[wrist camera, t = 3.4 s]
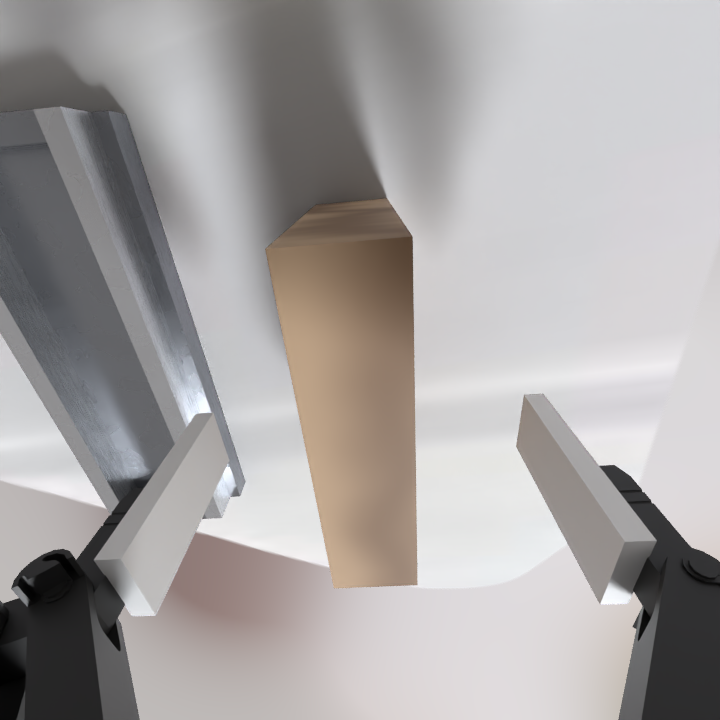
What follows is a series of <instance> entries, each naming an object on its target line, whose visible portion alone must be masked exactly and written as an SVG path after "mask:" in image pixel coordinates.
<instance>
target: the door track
mask: <svg viewBox="0 0 720 720" xmlns="http://www.w3.org/2000/svg"><path fill="white" fill-rule="evenodd" d="M0 333H1V335H2V336H3V338H4V340H5V341H6V343H7V345H8V346H9V348H10V350H11V351H12V353H13V355H14V356H15V358H16V359H17V361H18V363H19V364H20V366H21V368H22V369H23V371H24V373H25V374H26V376H27V378H28V379H29V381H30V383H31V384H32V386H33V388H34V389H35V391H36V392H37V394H38V396H39V397H40V399H41V401H42V402H43V404H44V406H45V407H46V409H47V411H48V412H49V414H50V416H51V417H52V419H53V420H54V422H55V424H56V425H57V427H58V429H59V430H60V432H61V434H62V435H63V437H64V439H65V440H66V442H67V444H68V445H69V447H70V449H71V450H72V452H73V453H74V455H75V457H76V458H77V460H78V462H79V463H80V465H81V467H82V468H83V470H84V472H85V473H86V475H87V477H88V478H89V480H90V481H91V483H92V485H93V486H94V488H95V490H96V491H97V493H98V495H99V496H100V498H101V500H102V501H103V503H104V505H105V506H106V508H107V510H108V511H109V513H110V514H112V511H113V510H114V509H115V507H116V506H117V505H118V503H119V502H120V501H121V499H123V498H124V497H125V496H126V495H127V494H129V493H130V492H131V491H132V490H133V489H135V488H144V487H145V486H146V485H147V483H148V482H149V480H150V479H151V477H152V476H153V475H154V473H155V472H156V470H157V469H158V467H159V466H160V465H161V463H162V462H163V460H164V459H165V457H166V456H167V455H168V453H169V452H170V450H171V449H172V447H173V446H174V445H175V443H176V442H177V440H178V439H179V437H180V436H181V435H182V433H183V432H184V430H185V429H186V427H187V426H188V425H189V423H190V422H191V420H192V419H193V417H194V416H195V415H196V414H198V413H214V416H215V419H216V422H217V425H218V428H219V431H220V434H221V437H222V440H223V443H224V446H225V449H226V452H227V455H228V458H229V462H228V465H227V467H226V469H225V471H224V473H223V475H222V477H221V479H220V481H219V484H218V486H217V488H216V490H215V492H214V494H213V496H212V498H211V500H210V503H209V505H208V507H207V509H206V511H205V513H204V515H203V517H202V519H209V518H222V516H223V514H224V511H225V509H226V506H227V504H228V501H229V499H230V497H234V496H240V495H241V492H242V489H243V487H244V484H245V479H244V476H243V473H242V470H241V467H240V464H239V461H238V458H237V455H236V452H235V449H234V446H233V442H232V439H231V436H230V433H229V430H228V427H227V424H226V421H225V418H224V415H223V412H222V409H221V406H220V402H219V399H218V396H217V393H216V390H215V387H214V384H213V381H212V378H211V375H210V372H209V369H208V366H207V362H206V359H205V356H204V353H203V350H202V347H201V344H200V341H199V338H198V335H197V332H196V329H195V326H194V322H193V319H192V316H191V313H190V310H189V307H188V304H187V301H186V298H185V295H184V292H183V289H182V286H181V282H180V279H179V276H178V273H177V270H176V267H175V264H174V261H173V258H172V255H171V252H170V249H169V246H168V242H167V239H166V236H165V233H164V230H163V227H162V224H161V221H160V218H159V215H158V212H157V209H156V206H155V202H154V199H153V196H152V193H151V190H150V187H149V184H148V181H147V178H146V175H145V172H144V169H143V166H142V162H141V159H140V156H139V153H138V150H137V147H136V144H135V141H134V138H133V135H132V132H131V129H130V126H129V122H128V119H127V116H126V114H122V113H118V112H113V111H108V110H107V111H97V112H88V111H82V110H77V109H71V108H66V107H61V106H59V107H49V108H40V109H30V110H21V111H12V112H2V113H0Z"/></svg>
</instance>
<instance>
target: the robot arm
mask: <svg viewBox="0 0 720 720" xmlns="http://www.w3.org/2000/svg"><path fill="white" fill-rule="evenodd" d="M516 447H517V449H518V451H519V453H520V454H521V456H522V458H523V460H524V462H525V464H526V466H527V468H528V470H529V471H530V473H531V475H532V477H533V479H534V481H535V483H536V485H537V486H538V488H539V490H540V492H541V494H542V496H543V498H544V500H545V502H546V503H547V505H548V507H549V509H550V511H551V513H552V515H553V517H554V519H555V520H556V522H557V524H558V526H559V528H560V530H561V532H562V534H563V536H564V537H565V539H566V541H567V543H568V545H569V547H570V549H571V550H572V552H573V554H574V556H575V558H576V560H577V562H578V564H579V566H580V568H581V569H582V571H583V573H584V575H585V577H586V579H587V581H588V583H589V585H590V586H591V588H592V590H593V592H594V594H595V596H596V598H597V600H598V601H599V603H600V604H628V603H629V601H630V598H631V596H632V593H633V592H635V594H636V595H637V597H638V599H639V600H640V602H641V603H642V605H643V607H642V609H641V611H640V613H639V615H638V617H637V619H636V621H635V623H634V625H633V627H634V628H636V635H635V639H634V644H633V649H632V654H631V660H630V664H629V669H628V674H627V679H626V684H625V689H624V694H623V700H622V705H621V709H620V715H619V720H720V562H719V561H718V560H717V559H715V558H713V557H712V556H710V555H708V554H706V553H705V552H703V551H700V550H696V549H693V548H691V547H690V546H689V545H688V543H687V542H686V541H685V540H684V539H683V538H682V537H681V535H680V534H679V533H678V532H677V531H676V530H675V528H674V527H673V526H672V525H671V523H670V522H669V521H668V520H667V519H666V518H665V516H664V515H663V514H662V513H661V512H660V510H659V509H658V508H657V507H656V506H655V505H654V504H652V503H651V500H650V499H649V498H648V496H647V495H646V494H645V493H643V492H642V489H641V488H640V487H639V486H638V485H637V483H636V482H635V481H634V480H633V479H632V478H631V476H629V475H628V474H626V473H625V472H624V471H622V470H621V469H619V468H618V467H616V466H615V465H607V466H599V465H598V464H597V463H596V461H595V460H594V459H593V457H592V456H591V455H590V454H589V452H588V451H587V450H586V448H585V447H584V446H583V445H582V443H581V442H580V441H579V439H578V438H577V437H576V435H575V434H574V433H573V432H572V430H571V429H570V428H569V426H568V425H567V424H566V423H565V421H564V420H563V419H562V417H561V416H560V415H559V413H558V412H557V411H556V410H555V408H554V407H553V406H552V404H551V403H550V402H549V401H548V399H547V398H546V397H545V395H544V394H530V395H524V399H523V406H522V412H521V419H520V425H519V432H518V439H517V445H516ZM228 462H229V458H228V455H227V452H226V449H225V446H224V443H223V440H222V437H221V434H220V431H219V428H218V425H217V422H216V419H215V416H214V413H198V414H196V415H195V416H194V417H193V419H192V420H191V422H190V423H189V425H188V426H187V427H186V429H185V430H184V432H183V433H182V435H181V436H180V437H179V439H178V440H177V442H176V443H175V445H174V446H173V447H172V449H171V450H170V452H169V453H168V455H167V456H166V457H165V459H164V460H163V462H162V463H161V465H160V466H159V467H158V469H157V470H156V472H155V473H154V475H153V476H152V477H151V479H150V480H149V482H148V483H147V485H146V486H145V487H144V488H135V489H133V490H132V491H131V492H130V493H129V494H127V495H126V496H125V497H124V498H123V499H121V501H120V502H119V503H118V505H117V506H116V507H115V509H114V510H113V511H112V514H111V515H110V516H109V517H108V518H107V519H106V521H105V522H104V525H103V526H101V528H100V529H99V530H98V532H97V533H96V534H95V536H94V537H93V538H92V540H91V541H90V542H89V544H88V545H87V546H86V548H85V549H84V551H83V552H82V553H81V554H80V556H79V557H78V558H77V560H76V559H75V558H74V557H73V555H72V554H71V553H70V551H68V550H64V549H60V550H53V551H51V552H48V553H46V554H43V555H41V556H40V557H38V558H37V559H35V560H34V561H32V562H31V563H30V564H28V565H27V566H26V567H25V568H24V569H23V570H22V571H21V572H20V573H19V575H18V576H17V577H16V579H15V580H14V583H13V585H12V588H11V589H12V590H13V591H14V592H15V594H16V595H17V596H18V597H19V599H15V600H12V601H9V602H6V603H2V602H1V601H0V720H140V719H139V714H138V709H137V704H136V699H135V694H134V688H133V683H132V678H131V673H130V668H129V663H128V658H127V652H126V647H125V642H124V637H123V632H122V626H121V623H120V621H119V620H118V616H119V614H120V613H121V611H122V609H123V607H124V606H125V607H126V608H127V610H128V611H129V613H130V614H131V616H156V614H157V612H158V610H159V608H160V606H161V604H162V602H163V600H164V597H165V595H166V593H167V591H168V589H169V587H170V585H171V583H172V581H173V579H174V576H175V574H176V572H177V570H178V568H179V566H180V564H181V562H182V560H183V557H184V555H185V553H186V551H187V549H188V547H189V545H190V543H191V541H192V538H193V536H194V534H195V532H196V530H197V528H198V526H199V524H200V522H201V519H202V517H203V515H204V513H205V511H206V509H207V507H208V505H209V503H210V500H211V498H212V496H213V494H214V492H215V490H216V488H217V486H218V484H219V481H220V479H221V477H222V475H223V473H224V471H225V469H226V467H227V465H228Z"/></svg>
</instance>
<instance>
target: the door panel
mask: <svg viewBox="0 0 720 720" xmlns="http://www.w3.org/2000/svg"><path fill="white" fill-rule="evenodd" d="M265 250H266V255H267V260H268V265H269V270H270V275H271V280H272V285H273V290H274V295H275V300H276V305H277V310H278V315H279V319H280V324H281V329H282V334H283V339H284V344H285V349H286V354H287V359H288V364H289V369H290V374H291V379H292V384H293V389H294V393H295V398H296V403H297V408H298V413H299V418H300V423H301V428H302V433H303V438H304V443H305V448H306V453H307V458H308V463H309V468H310V472H311V477H312V482H313V487H314V492H315V497H316V502H317V507H318V512H319V517H320V522H321V527H322V532H323V537H324V542H325V546H326V551H327V556H328V561H329V566H330V571H331V576H332V581H333V585H334V588H352V587H379V586H404V585H417V524H416V453H415V382H414V311H413V240H412V235H411V234H410V232H409V231H408V229H407V228H406V226H405V225H404V223H403V222H402V220H401V219H400V217H399V216H398V214H397V213H396V211H395V210H394V208H393V207H392V205H391V204H390V202H389V201H388V199H387V198H385V199H374V200H363V201H351V202H340V203H329V204H318V205H315V206H314V207H313V208H311V209H310V210H309V211H308V212H307V213H306V214H305V215H303V216H302V217H301V218H300V219H299V220H298V221H297V222H295V223H294V224H293V225H292V226H291V227H290V228H289V229H287V230H286V231H285V232H284V233H283V234H282V235H281V236H279V237H278V238H277V239H276V240H275V241H274V242H273V243H272V244H270V245H269V246H268V247H267V248H266V249H265Z"/></svg>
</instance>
